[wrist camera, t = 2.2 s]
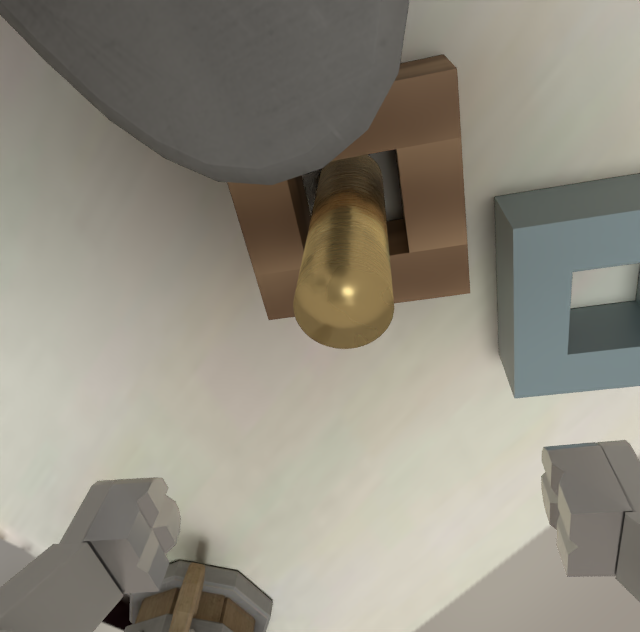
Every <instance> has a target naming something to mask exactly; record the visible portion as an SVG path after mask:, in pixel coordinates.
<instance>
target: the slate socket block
mask: <svg viewBox="0 0 640 632" xmlns="http://www.w3.org/2000/svg"><path fill="white" fill-rule="evenodd" d="M495 233H496V270H497V306H498V343H499V356H500V359H501V361H502V364H503V367H504V370H505V373H506V376H507V378H508V381H509V384H510V387H511V390H512V392H513V395H514V398H523V397H533V396H543V395H553V394H563V393H573V392H583V391H593V390H603V389H613V388H623V387H633V386H640V272H639V279H638V287H637V294H636V301H631V302H623V303H615V304H607V305H599V306H591V307H583V308H574V309H570V304H571V287H572V272H576V271H584V270H591V269H598V268H606V267H613V266H620V265H628V264H635V263H640V173H639V174H633V175H627V176H621V177H614V178H608V179H602V180H596V181H590V182H583V183H577V184H571V185H565V186H559V187H553V188H546V189H540V190H534V191H528V192H522V193H515V194H509V195H503V196H497V197H495Z"/></svg>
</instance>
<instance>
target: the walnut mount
mask: <svg viewBox="0 0 640 632" xmlns="http://www.w3.org/2000/svg"><path fill="white" fill-rule="evenodd" d="M394 149H395V151H396V159H397V167H398V175H399V183H400V191H401V199H402V207H403V215H404V219H399V220H393V221H387V233H388V244H389V255H390V266H391V277H392V288H393V299H394V303H400V302H408V301H415V300H422V299H430V298H437V297H445V296H452V295H460V294H467V293H470V281H469V264H468V247H467V230H466V213H465V196H464V179H463V162H462V145H461V128H460V111H459V94H458V77H457V68H456V67H455V66H454V65H453V64H452V63H451V62H450V61H449V60H448V58H447V57H446V56H445V55H439V56H434V57H429V58H425V59H420V60H415V61H410V62H405V63H400V67H399V73H398V75H397V77H396V79H395V81H394V83H393V84H392V86H391V88H390V90H389V92H388V94H387V96H386V97H385V99H384V101H383V103H382V105H381V107H380V108H379V110H378V112H377V114H376V116H375V118H374V120H373V121H372V123H371V125H370V127H369V129H368V130H367V131H366V132H365V133H364V134H362V135H361V136H360V137H359V138H358V139H357V140H355V141H354V142H353V143H352V144H351V145H349V146H348V147H347V148H346V149H345V150H344V151H342V152H341V153H340V154H339V155H338V156H337V157H335V158H334V159H333V160H332V161H334V160H339V159H345V158H350V157H356V156H361V155H367V154H372V153H378V152H383V151H389V150H394ZM227 183H228V186H229V190H230V193H231V196H232V200H233V203H234V206H235V209H236V213H237V216H238V219H239V223H240V226H241V229H242V233H243V236H244V239H245V243H246V246H247V249H248V253H249V256H250V259H251V263H252V266H253V269H254V273H255V276H256V279H257V282H258V286H259V289H260V292H261V296H262V299H263V302H264V306H265V309H266V312H267V316H268V319H269V320H273V319H280V318H288V317H295V315H294V309H293V302H294V295H295V291H296V286H297V281H298V277H299V272H300V267H301V263H302V258H303V253H304V249H305V244H306V239H307V235H308V230H309V225H310V221H311V216H310V211H309V207H308V202H307V198H306V193H305V189H304V184H303V180H302V175H301V176H298V177H295V178H292V179H289V180H286V181H283V182H280V183H277V184H274V185H262V184H247V183H233V182H227Z"/></svg>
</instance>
